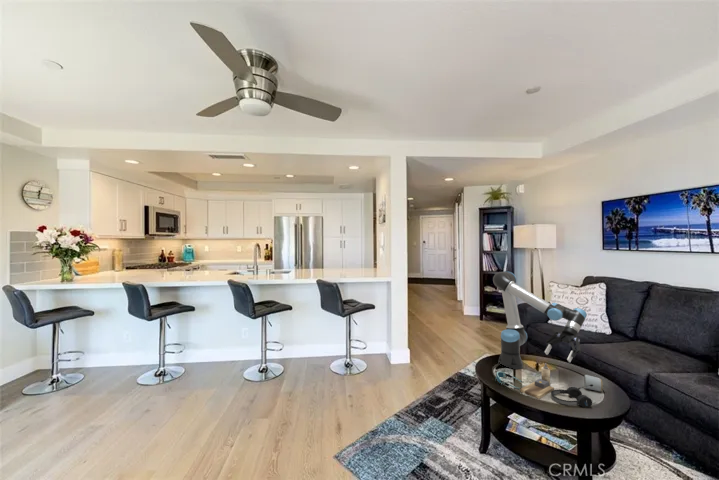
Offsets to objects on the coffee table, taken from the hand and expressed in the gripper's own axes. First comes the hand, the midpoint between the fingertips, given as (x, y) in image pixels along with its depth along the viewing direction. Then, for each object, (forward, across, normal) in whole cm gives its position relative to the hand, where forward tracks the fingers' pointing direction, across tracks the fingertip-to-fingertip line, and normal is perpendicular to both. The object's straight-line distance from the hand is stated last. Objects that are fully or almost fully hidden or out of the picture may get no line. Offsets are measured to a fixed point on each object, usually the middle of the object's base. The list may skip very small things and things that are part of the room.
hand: (556, 357), depth 183 cm
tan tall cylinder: (+18, 0, -3) cm, 18 cm away
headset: (+23, -18, +1) cm, 29 cm away
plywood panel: (+27, -3, +6) cm, 28 cm away
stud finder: (+22, -2, +3) cm, 22 cm away
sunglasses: (+31, +11, +10) cm, 34 cm away
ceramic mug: (+4, -14, -17) cm, 23 cm away
